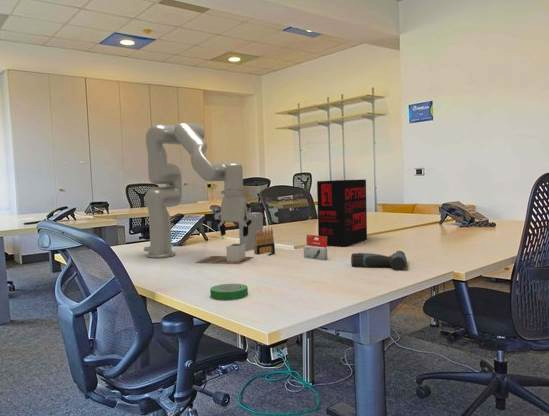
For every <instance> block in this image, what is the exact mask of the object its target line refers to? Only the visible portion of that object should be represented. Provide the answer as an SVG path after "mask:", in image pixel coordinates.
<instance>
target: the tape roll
mask: <svg viewBox="0 0 549 416" xmlns="http://www.w3.org/2000/svg"><path fill="white" fill-rule="evenodd" d="M248 289H249V288H248V285H246V284H244V283H243V284H242V283H223V284H221V283H220V284H217V285H214V286H212V287H210V291H209V292H210V298H211V299H213V300H217V301H234V299H235V300H241V299H243V297H244V298H245V296H246V297H247V296H248V295H249V291H248Z"/></svg>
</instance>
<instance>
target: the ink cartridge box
mask: <svg viewBox="0 0 549 416" xmlns="http://www.w3.org/2000/svg"><path fill="white" fill-rule="evenodd" d="M315 238H317V239H315ZM318 238H319V239H320V240H319V239H318ZM303 258H304V259H309V260H319V261H328V260H329V259H328V246H327V236H318V235H315V234H314V235H313V234H306V245H304V246H303Z"/></svg>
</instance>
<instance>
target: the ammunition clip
mask: <svg viewBox="0 0 549 416" xmlns="http://www.w3.org/2000/svg"><path fill="white" fill-rule="evenodd" d="M275 246H276V245H275V237H274V231H273V228H272V227H271V228H269V227H268V228H265V229H264V228H263V229H262V232H261V231H260V229H259V232H257V230H256V232H255V245H254V249H253V251H254V255H262V254H267V256H271V255H276V247H275ZM268 253H269V254H268Z"/></svg>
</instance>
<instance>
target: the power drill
mask: <svg viewBox="0 0 549 416" xmlns="http://www.w3.org/2000/svg"><path fill="white" fill-rule="evenodd" d="M407 261H408V260H407V257H406V254H405V252H404V251H402V250H397V251H396V252H395V253H392V254H391V255H389V256H388V255H384V254H377V253H371V252H369V253H368V252H367V253H366V252H365V253H363V252H358V253H354V252H353V253H352V254H351V257H350V263H351V266H352V267H357V266H364V268H380V266H381V267H384V266H390V267H391V268H392V269H393V270H394V269H395V270H394V271H402V270H404V269H405V268H406V266H407Z"/></svg>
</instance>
